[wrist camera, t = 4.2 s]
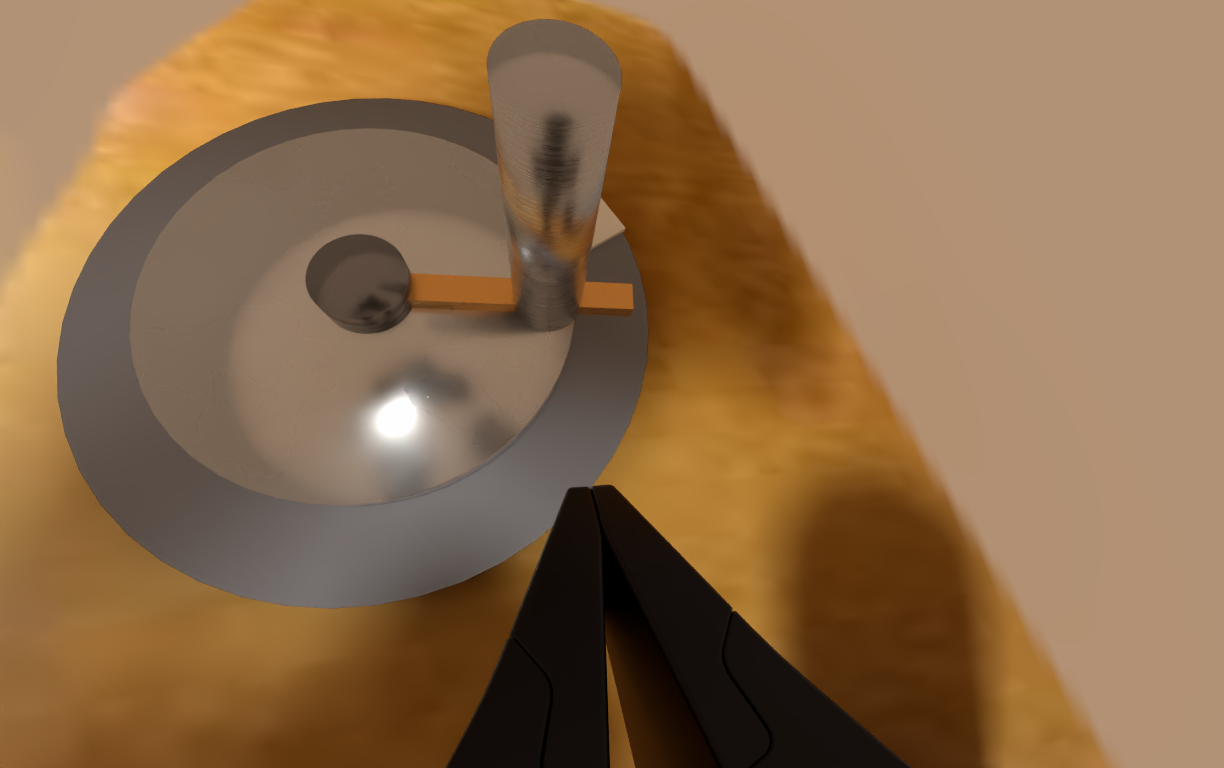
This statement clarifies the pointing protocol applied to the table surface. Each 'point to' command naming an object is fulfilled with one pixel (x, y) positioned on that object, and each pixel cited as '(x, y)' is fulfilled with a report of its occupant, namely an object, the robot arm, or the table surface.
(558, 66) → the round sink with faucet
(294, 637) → the table surface
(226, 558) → the dial base
